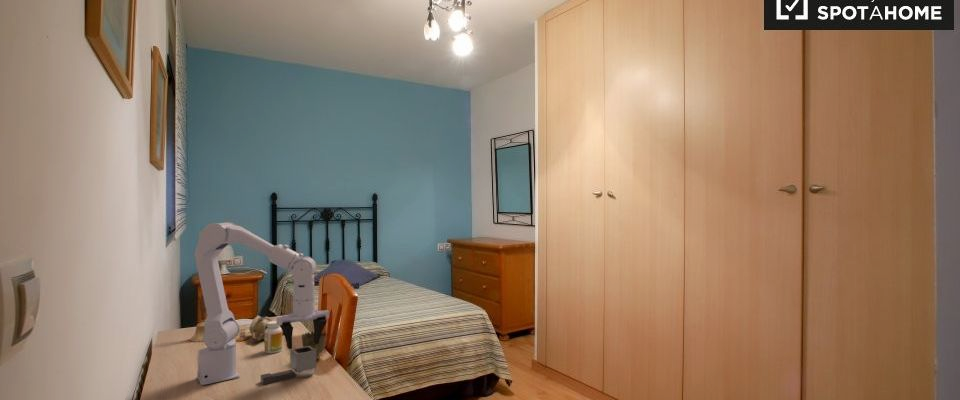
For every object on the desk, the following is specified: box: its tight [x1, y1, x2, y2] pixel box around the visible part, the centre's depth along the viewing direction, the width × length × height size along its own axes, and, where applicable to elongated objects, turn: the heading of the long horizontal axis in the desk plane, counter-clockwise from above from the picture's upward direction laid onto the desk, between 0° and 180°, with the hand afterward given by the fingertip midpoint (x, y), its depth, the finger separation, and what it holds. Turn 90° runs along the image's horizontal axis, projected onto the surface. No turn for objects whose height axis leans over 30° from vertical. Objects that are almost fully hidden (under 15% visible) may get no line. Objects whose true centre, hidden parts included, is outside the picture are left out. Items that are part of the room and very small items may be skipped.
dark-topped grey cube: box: [289, 346, 317, 372], centre depth 134 cm, size 6×6×5 cm
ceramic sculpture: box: [248, 314, 285, 342], centre depth 168 cm, size 11×9×15 cm
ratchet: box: [260, 368, 315, 386], centre depth 131 cm, size 14×6×5 cm, turn 129°
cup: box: [301, 330, 327, 361], centre depth 147 cm, size 8×7×8 cm
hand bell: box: [189, 294, 207, 343], centre depth 167 cm, size 8×8×16 cm
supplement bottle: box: [264, 320, 283, 354], centre depth 154 cm, size 5×5×10 cm
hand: (303, 345), depth 134 cm, fingers open, 7 cm apart
